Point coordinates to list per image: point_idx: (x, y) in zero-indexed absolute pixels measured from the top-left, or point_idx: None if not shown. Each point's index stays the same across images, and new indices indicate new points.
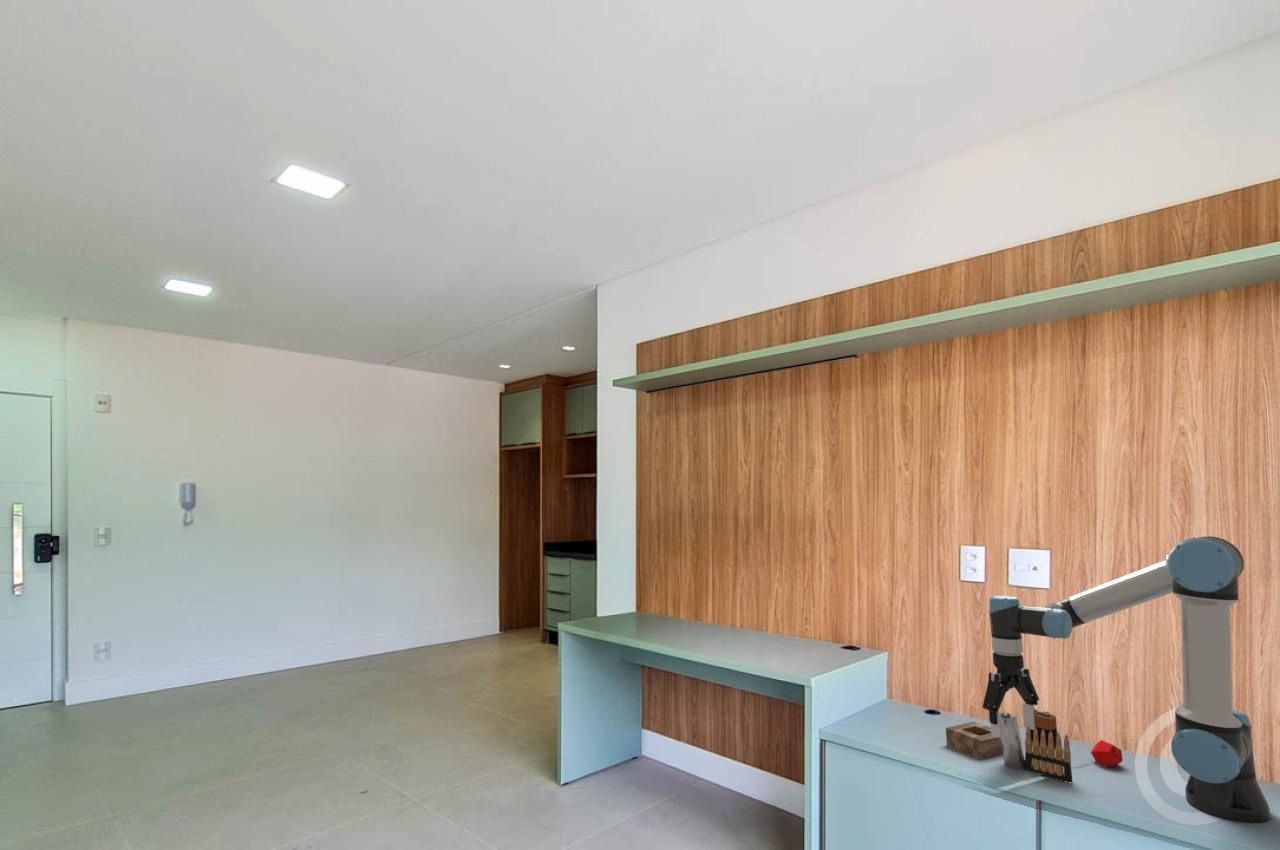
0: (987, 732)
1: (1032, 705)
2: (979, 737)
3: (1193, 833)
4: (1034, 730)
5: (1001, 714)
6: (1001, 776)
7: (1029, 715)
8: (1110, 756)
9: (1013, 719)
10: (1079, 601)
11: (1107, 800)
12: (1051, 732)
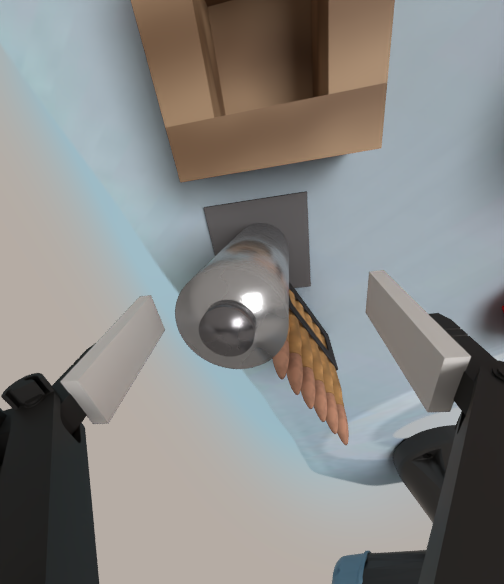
0: (325, 44)
1: (442, 410)
2: (199, 139)
3: (307, 463)
4: (290, 383)
5: (200, 328)
6: (190, 268)
7: (394, 343)
8: None
9: (233, 366)
10: None
11: (302, 396)
12: (322, 418)
